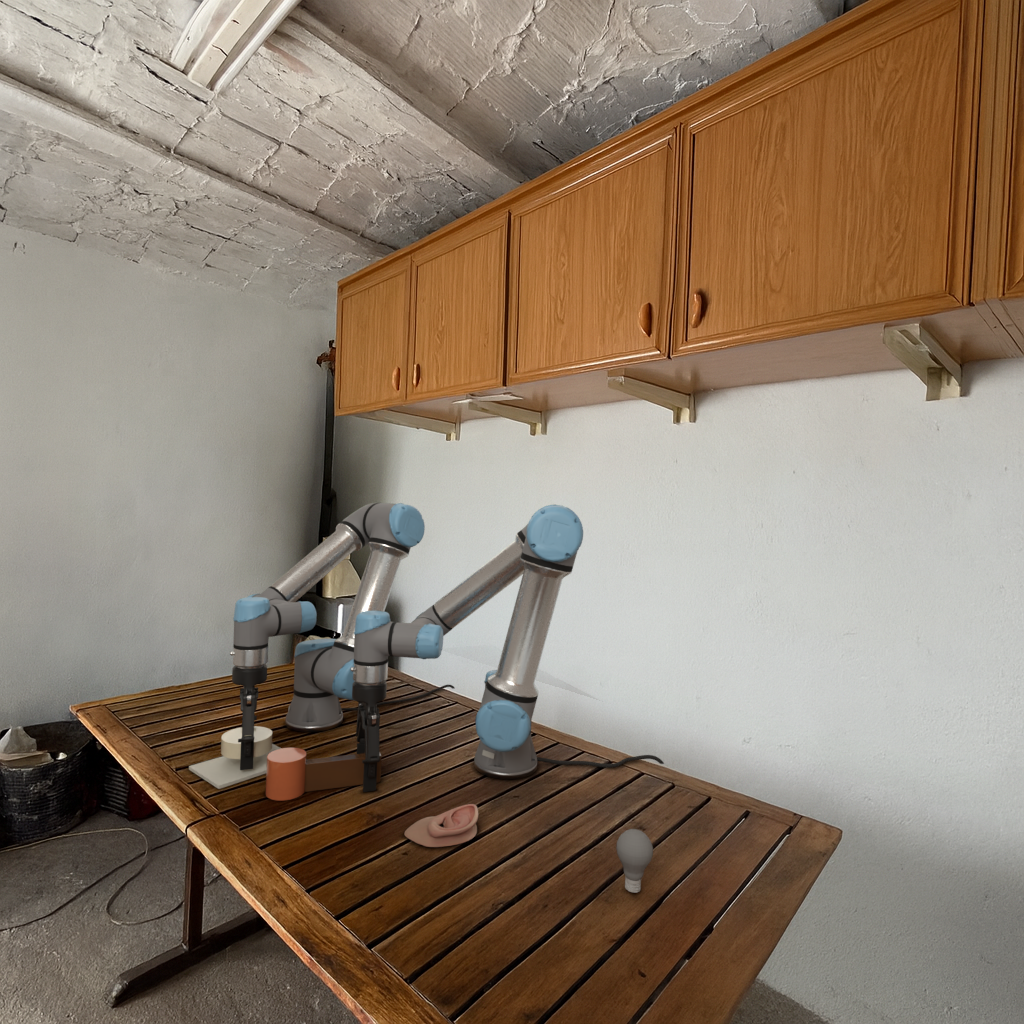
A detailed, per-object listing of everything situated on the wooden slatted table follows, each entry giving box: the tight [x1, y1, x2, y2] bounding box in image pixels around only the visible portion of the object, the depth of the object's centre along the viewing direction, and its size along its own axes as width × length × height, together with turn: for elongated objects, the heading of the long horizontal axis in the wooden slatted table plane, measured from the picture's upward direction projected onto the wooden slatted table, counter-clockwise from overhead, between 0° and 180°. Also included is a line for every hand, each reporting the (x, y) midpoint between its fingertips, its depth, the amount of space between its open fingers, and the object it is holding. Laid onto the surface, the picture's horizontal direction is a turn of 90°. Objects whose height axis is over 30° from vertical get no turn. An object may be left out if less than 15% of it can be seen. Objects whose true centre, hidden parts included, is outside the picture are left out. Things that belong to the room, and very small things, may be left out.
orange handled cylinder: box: [265, 747, 382, 802], centre depth 138 cm, size 24×8×8 cm, turn 112°
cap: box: [220, 725, 273, 759], centre depth 147 cm, size 11×11×4 cm
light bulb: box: [615, 828, 654, 894], centre depth 106 cm, size 6×6×10 cm
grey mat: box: [188, 743, 283, 790], centre depth 147 cm, size 20×14×1 cm
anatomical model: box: [404, 803, 479, 848], centre depth 121 cm, size 13×4×12 cm
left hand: (246, 758), depth 147 cm, fingers closed on cap, 11 cm apart
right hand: (365, 780), depth 142 cm, fingers open, 9 cm apart
